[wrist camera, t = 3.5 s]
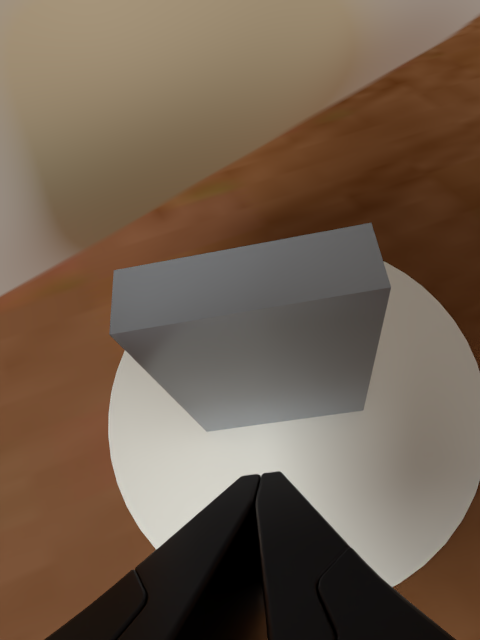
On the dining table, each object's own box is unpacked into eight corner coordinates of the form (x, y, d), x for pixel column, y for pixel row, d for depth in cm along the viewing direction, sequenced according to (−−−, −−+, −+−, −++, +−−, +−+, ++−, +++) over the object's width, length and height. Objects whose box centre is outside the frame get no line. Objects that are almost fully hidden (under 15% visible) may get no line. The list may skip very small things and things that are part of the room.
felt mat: (497, 273, 21) (500, 267, 21) (464, 693, 14) (469, 697, 14) (185, 229, 26) (183, 223, 26) (51, 524, 19) (45, 523, 19)
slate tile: (363, 410, 19) (391, 287, 10) (206, 431, 20) (109, 334, 11) (353, 367, 20) (371, 222, 11) (204, 390, 21) (113, 270, 12)
